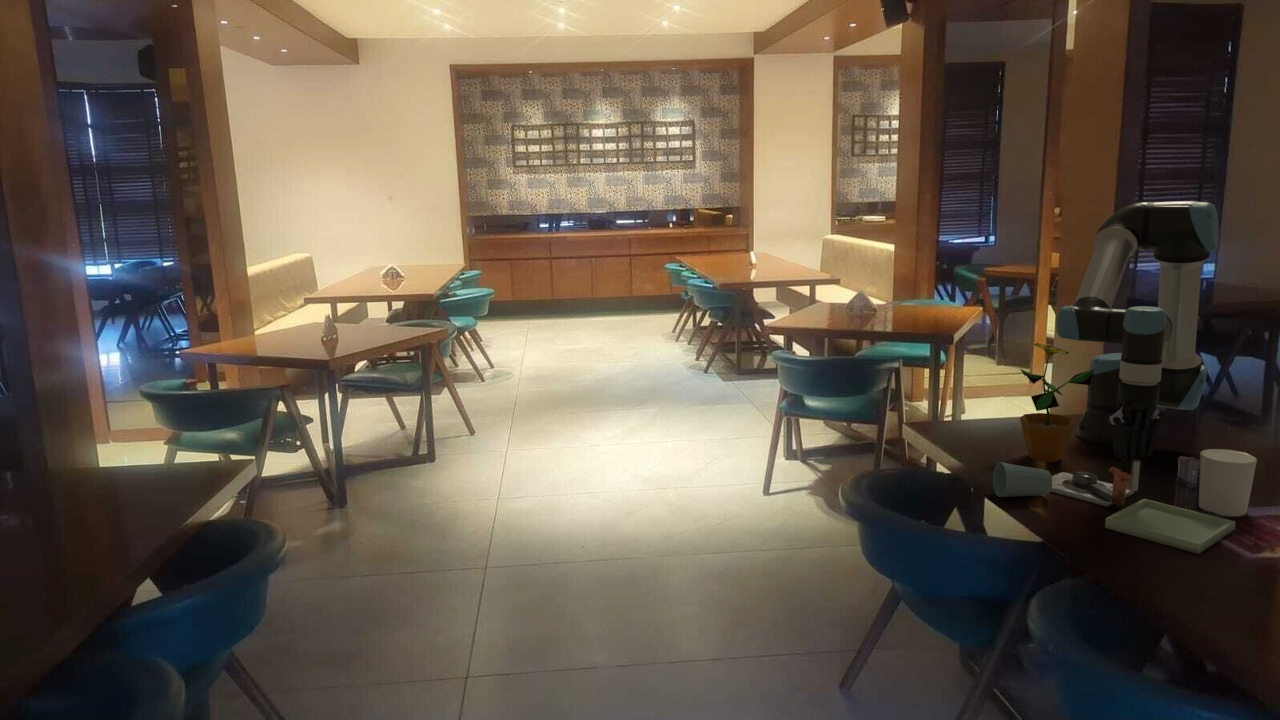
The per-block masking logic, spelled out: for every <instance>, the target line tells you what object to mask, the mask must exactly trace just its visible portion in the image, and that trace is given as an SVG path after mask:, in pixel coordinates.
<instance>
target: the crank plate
mask: <svg viewBox="0 0 1280 720" xmlns="http://www.w3.org/2000/svg"><path fill="white" fill-rule="evenodd" d="M1051 477H1052V488H1051V491H1050V493H1054V494H1058V495H1061V496H1066V497H1068V498H1074V499H1078V500H1081V501H1085V502H1088V503H1092V504H1096V505H1100V506H1103V507H1110V506H1112V505H1114V503H1112V502H1111V501H1109V500H1107V499H1105V498H1103V497H1101V496H1099V495H1097V494H1095V493H1093V492H1091V491H1089V490H1087V489H1082V488H1078V487H1075V486H1073V485H1072V478H1073V473H1069V472H1066V471H1065V472H1064V471H1062V472H1059V473H1056V474H1054V475H1051ZM1097 483H1098V484H1100V485H1102V486H1104V487H1106V488H1108V489H1110V490H1112V491H1113V483H1108V482H1106V481H1101V480H1099V479H1098V480H1097ZM1134 493H1135V491H1130V490H1128V489H1126V493H1125V499H1126V498H1129V497H1130V496H1132V495H1134Z"/></svg>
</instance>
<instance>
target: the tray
mask: <svg viewBox="0 0 1280 720" xmlns="http://www.w3.org/2000/svg"><path fill="white" fill-rule="evenodd" d="M1104 524H1105V525H1104V528H1105V529H1108V530H1111V531H1115V532H1119V533H1123V534H1127V535H1130V536H1133V537H1137V538H1141V539H1144V540H1148V541H1152V542H1154V543H1159V544H1162V545H1166V546H1170V547H1172V548H1177V549H1181V550H1184V551H1188V552H1190V553H1194V554H1198V555H1200V554H1201V553H1203V552H1204V551H1205V550H1208V549H1209V548H1210V547H1212V546H1214V545H1215V544H1216V543H1218V542H1219V541H1218V539H1220V538H1222V537H1224V536H1226V535H1227V534H1229V533H1230V532H1232V531H1233V530H1236V521H1235V520H1230V519H1227V518H1223V517H1218V516H1215V515H1211V514H1206V513H1202V512H1198V511H1195V510H1190V509H1187V508H1183V507H1179V506H1175V505H1170V504H1168V503H1167V504H1166V503H1163V502H1160V501H1156V500H1152V499H1151V500H1150V499H1148V498H1143V499H1141V500H1139V501H1137V502H1135V503H1132V504H1131V505H1129V506H1126V507H1124V508H1122V509H1121V510H1119V511H1117V512H1115V513H1113V514H1111V515H1109V516H1108V517H1106V518H1105V522H1104ZM1233 532H1234V531H1233ZM1233 532H1232V533H1233ZM1230 534H1231V533H1230ZM1230 534H1229V535H1230ZM1227 536H1228V535H1227ZM1227 536H1226V537H1227ZM1224 538H1225V537H1224ZM1222 539H1223V538H1222ZM1217 541H1218V542H1217Z"/></svg>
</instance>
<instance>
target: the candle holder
mask: <svg viewBox="0 0 1280 720" xmlns="http://www.w3.org/2000/svg"><path fill="white" fill-rule="evenodd" d="M1199 457H1200V459H1199V462H1200V464H1199V486H1198V487H1199V488H1198V490H1199V491H1198V494H1199V495H1198V507H1199V508H1200V509H1201V508H1202V509H1201V510H1203V509H1204V510H1203V511H1205V510H1207V511H1211V512H1215V513H1218V514H1221V515H1220V516H1224V515H1225V516H1224V517H1242V516H1244V515H1246V514H1247V511H1248V507H1249V502H1250V497H1251V491H1252V487H1253V482H1254V477H1255V472H1256V466H1257V463H1258V459H1257V457H1255V456H1254V455H1251V454H1249V453H1246V452H1243V451H1238V450H1232V449H1223V448H1222V449H1221V448H1210V449H1209V448H1208V449H1204V450H1202V451H1200V452H1199ZM1207 511H1206V512H1207ZM1218 514H1217V515H1218Z"/></svg>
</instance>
